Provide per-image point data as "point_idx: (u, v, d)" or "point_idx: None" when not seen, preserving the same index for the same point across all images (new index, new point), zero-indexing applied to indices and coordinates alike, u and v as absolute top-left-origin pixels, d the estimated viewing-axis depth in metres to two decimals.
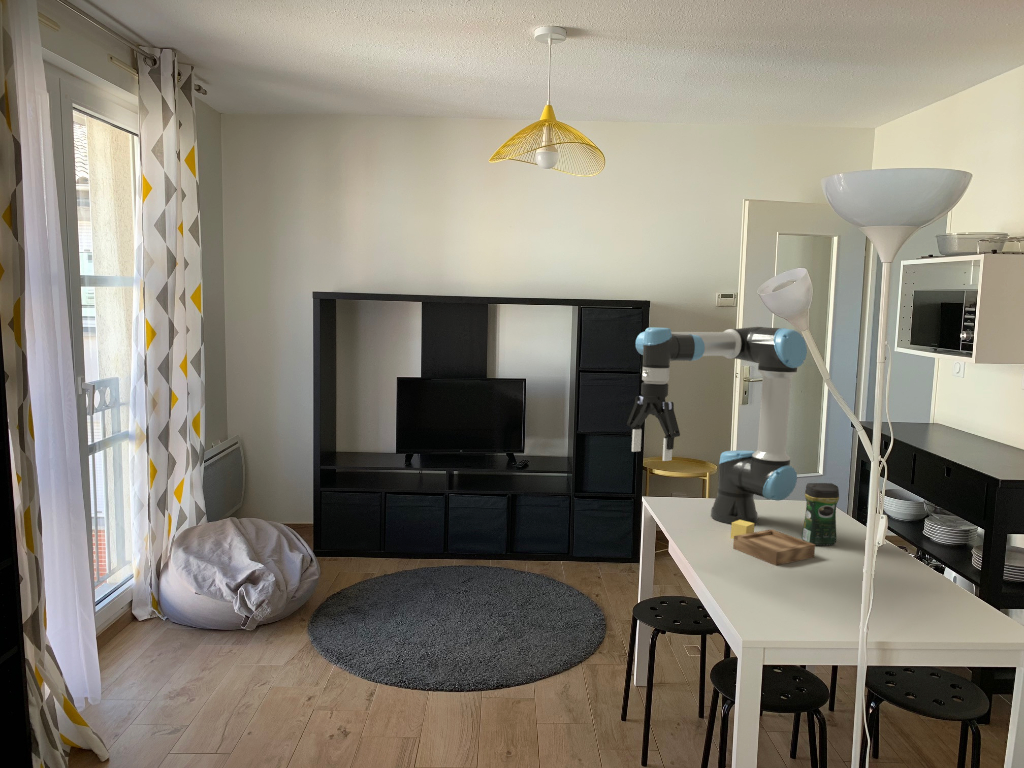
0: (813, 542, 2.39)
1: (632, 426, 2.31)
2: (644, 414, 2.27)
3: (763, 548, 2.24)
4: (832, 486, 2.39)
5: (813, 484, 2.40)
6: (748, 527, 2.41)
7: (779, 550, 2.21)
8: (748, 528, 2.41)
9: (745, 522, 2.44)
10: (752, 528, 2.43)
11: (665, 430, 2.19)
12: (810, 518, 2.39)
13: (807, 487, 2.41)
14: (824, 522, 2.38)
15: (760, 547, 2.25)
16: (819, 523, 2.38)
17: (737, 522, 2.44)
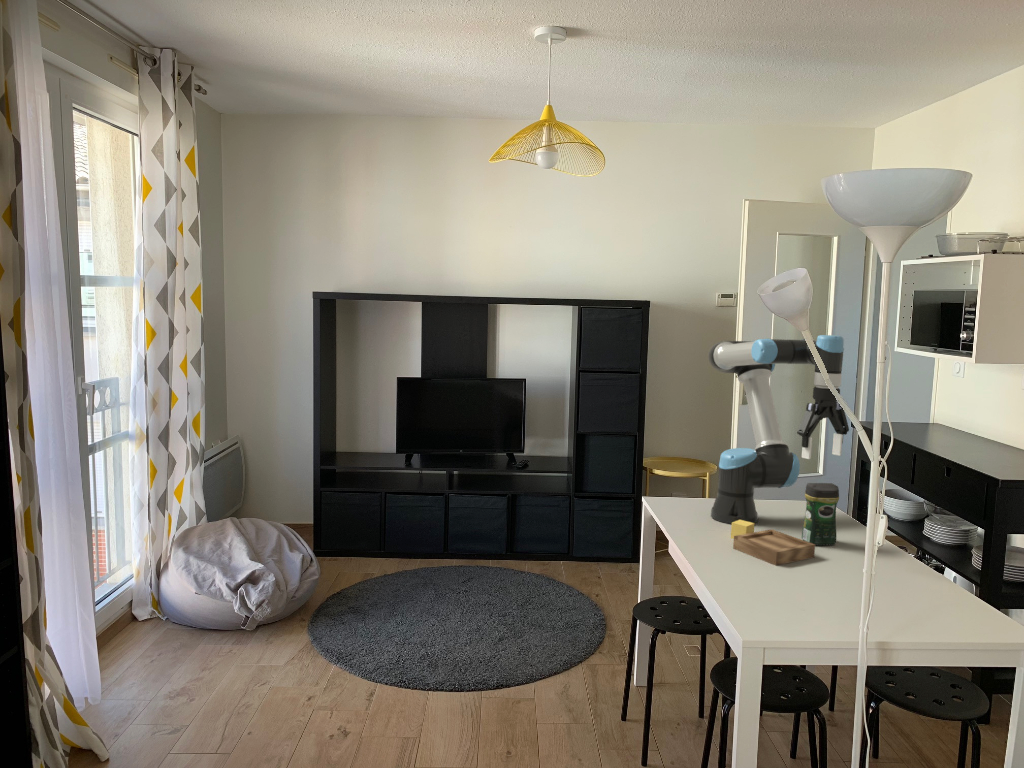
0: (813, 542, 2.39)
1: None
2: (830, 418, 2.40)
3: (763, 548, 2.24)
4: (832, 486, 2.39)
5: (813, 484, 2.40)
6: (748, 527, 2.41)
7: (779, 550, 2.21)
8: (748, 528, 2.41)
9: (745, 522, 2.44)
10: (752, 528, 2.43)
11: None
12: (810, 518, 2.39)
13: (807, 487, 2.41)
14: (824, 522, 2.38)
15: (760, 547, 2.25)
16: (819, 523, 2.38)
17: (737, 522, 2.44)
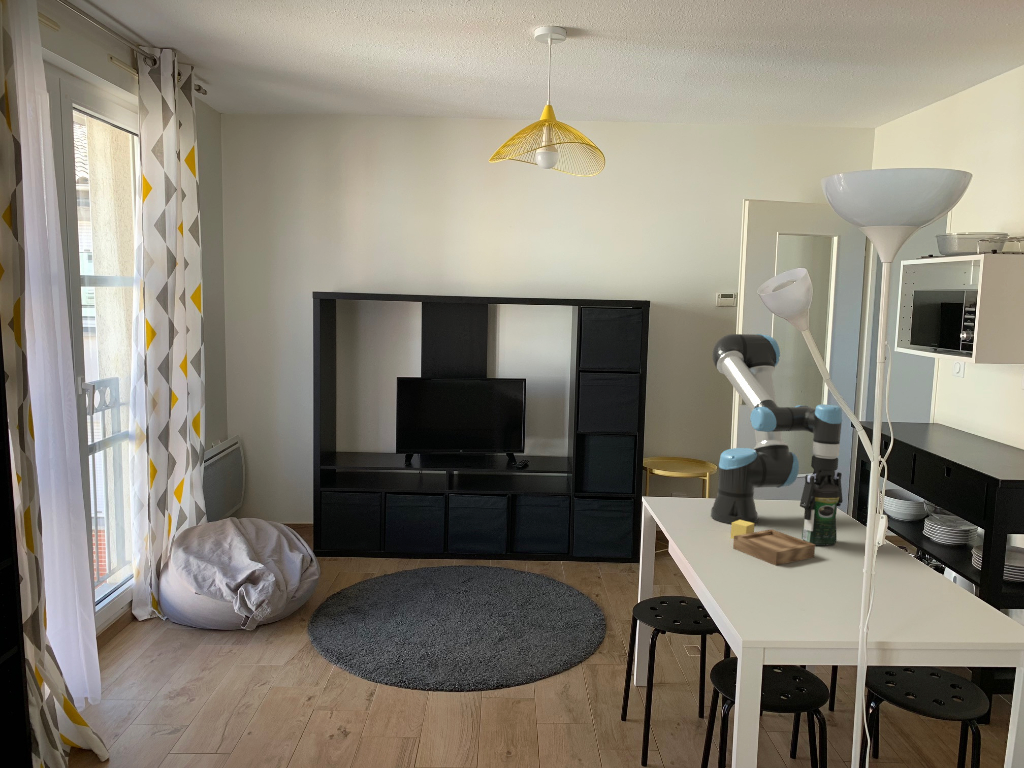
0: (813, 542, 2.39)
1: None
2: None
3: (763, 548, 2.24)
4: (832, 486, 2.39)
5: None
6: (748, 527, 2.41)
7: (779, 550, 2.21)
8: (748, 528, 2.41)
9: (745, 522, 2.44)
10: (752, 528, 2.43)
11: None
12: None
13: None
14: (824, 522, 2.38)
15: (760, 547, 2.25)
16: (819, 523, 2.38)
17: (737, 522, 2.44)
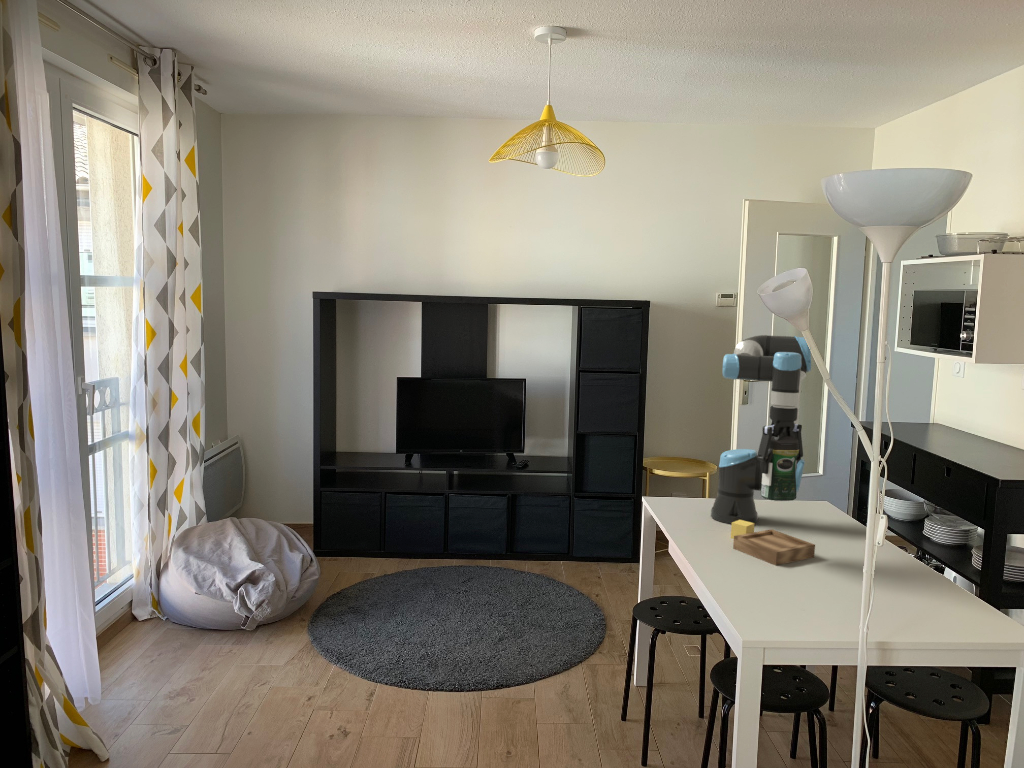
0: (771, 497, 2.25)
1: None
2: None
3: (763, 548, 2.24)
4: (792, 438, 2.25)
5: (772, 436, 2.26)
6: (748, 527, 2.41)
7: (779, 550, 2.21)
8: (748, 528, 2.41)
9: (745, 522, 2.44)
10: (752, 528, 2.43)
11: None
12: None
13: None
14: (783, 476, 2.24)
15: (760, 547, 2.25)
16: (778, 477, 2.24)
17: (737, 522, 2.44)
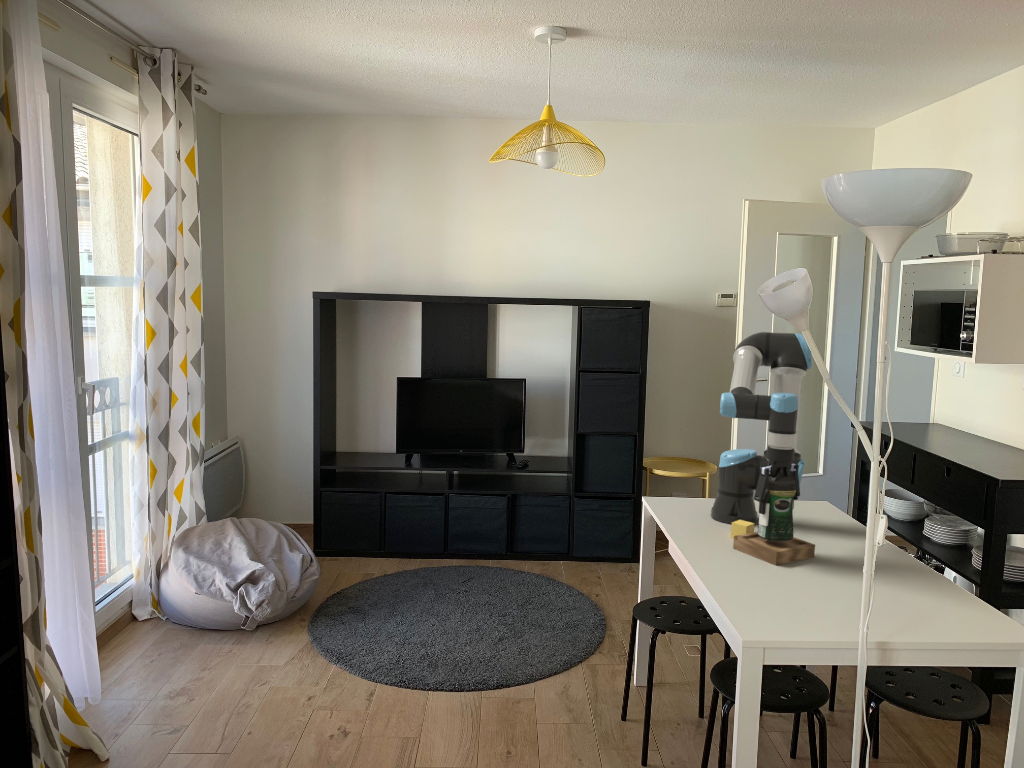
0: (768, 537, 2.27)
1: None
2: None
3: (763, 548, 2.24)
4: (788, 478, 2.27)
5: (769, 476, 2.28)
6: (748, 527, 2.41)
7: (779, 550, 2.21)
8: (748, 528, 2.41)
9: (745, 522, 2.44)
10: (752, 528, 2.43)
11: None
12: None
13: None
14: (780, 517, 2.26)
15: (760, 547, 2.25)
16: (775, 517, 2.26)
17: (737, 522, 2.44)
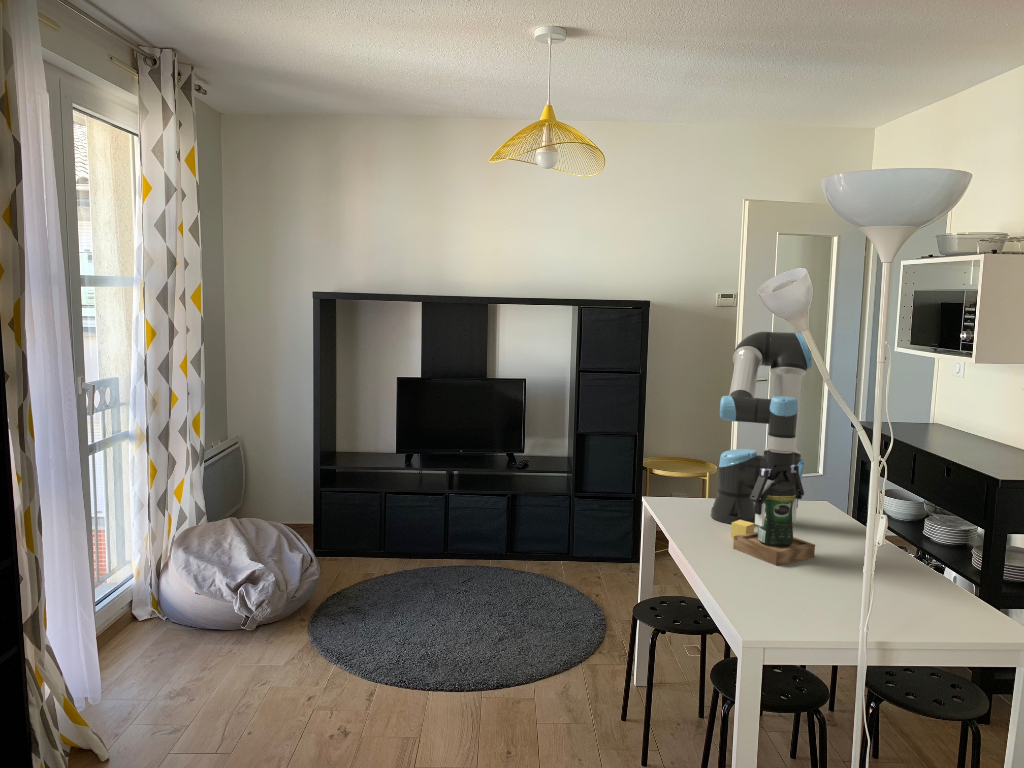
0: (768, 542, 2.27)
1: None
2: None
3: (763, 548, 2.24)
4: (788, 483, 2.27)
5: None
6: (748, 527, 2.41)
7: (779, 550, 2.21)
8: (748, 528, 2.41)
9: (745, 522, 2.44)
10: (752, 528, 2.43)
11: None
12: (765, 517, 2.27)
13: None
14: (779, 522, 2.26)
15: (760, 547, 2.25)
16: (775, 522, 2.26)
17: (737, 522, 2.44)
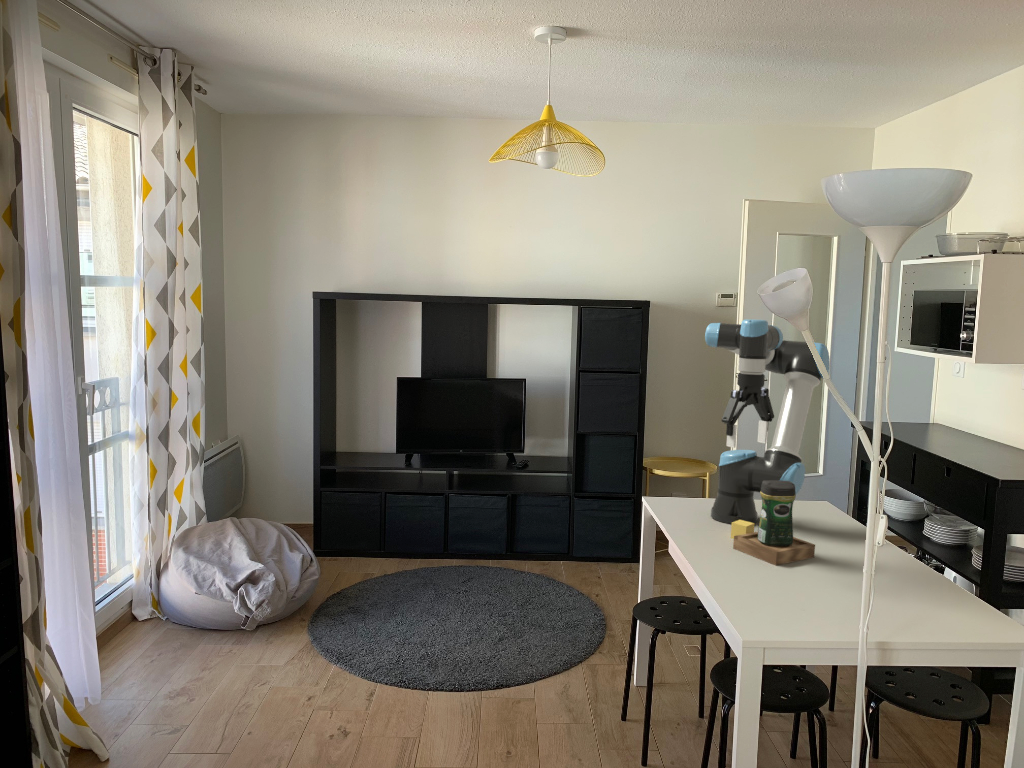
0: (768, 542, 2.27)
1: None
2: (755, 405, 2.33)
3: (763, 548, 2.24)
4: (788, 484, 2.27)
5: (768, 481, 2.28)
6: (748, 527, 2.41)
7: (779, 550, 2.21)
8: (748, 528, 2.41)
9: (745, 522, 2.44)
10: (752, 528, 2.43)
11: None
12: (765, 517, 2.28)
13: (762, 485, 2.29)
14: (779, 522, 2.26)
15: (760, 547, 2.25)
16: (775, 522, 2.26)
17: (737, 522, 2.44)
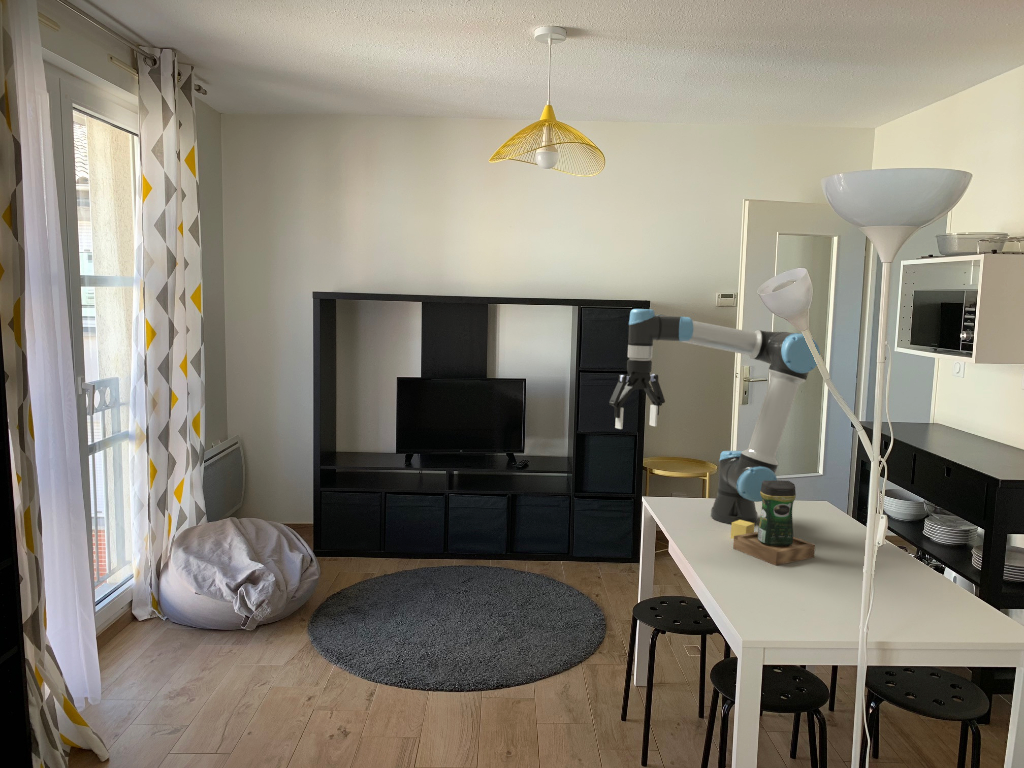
0: (768, 542, 2.27)
1: None
2: (645, 389, 2.47)
3: (763, 548, 2.24)
4: (788, 484, 2.27)
5: (768, 481, 2.28)
6: (748, 527, 2.41)
7: (779, 550, 2.21)
8: (748, 528, 2.41)
9: (745, 522, 2.44)
10: (752, 528, 2.43)
11: None
12: (765, 517, 2.28)
13: (762, 485, 2.29)
14: (779, 522, 2.26)
15: (760, 547, 2.25)
16: (775, 522, 2.26)
17: (737, 522, 2.44)
